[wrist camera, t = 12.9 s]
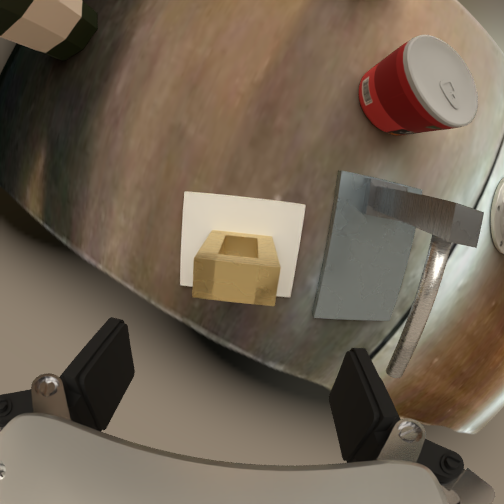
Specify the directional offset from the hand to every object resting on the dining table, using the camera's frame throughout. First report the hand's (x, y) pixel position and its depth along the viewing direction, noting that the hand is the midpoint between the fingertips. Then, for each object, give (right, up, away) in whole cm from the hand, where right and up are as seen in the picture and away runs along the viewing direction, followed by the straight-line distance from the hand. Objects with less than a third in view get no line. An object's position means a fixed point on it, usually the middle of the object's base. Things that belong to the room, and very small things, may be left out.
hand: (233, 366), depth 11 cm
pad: (0, +5, +18) cm, 19 cm away
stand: (+14, +5, +18) cm, 23 cm away
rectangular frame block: (0, +5, +17) cm, 18 cm away
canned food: (+15, +21, +13) cm, 29 cm away
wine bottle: (-22, +33, +10) cm, 41 cm away
